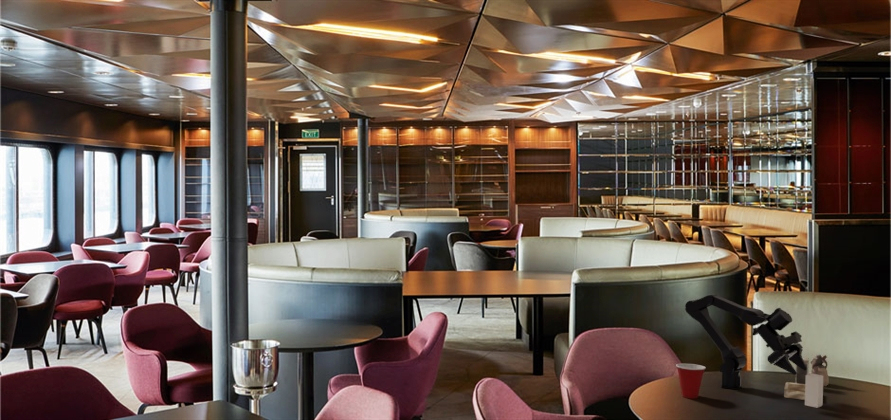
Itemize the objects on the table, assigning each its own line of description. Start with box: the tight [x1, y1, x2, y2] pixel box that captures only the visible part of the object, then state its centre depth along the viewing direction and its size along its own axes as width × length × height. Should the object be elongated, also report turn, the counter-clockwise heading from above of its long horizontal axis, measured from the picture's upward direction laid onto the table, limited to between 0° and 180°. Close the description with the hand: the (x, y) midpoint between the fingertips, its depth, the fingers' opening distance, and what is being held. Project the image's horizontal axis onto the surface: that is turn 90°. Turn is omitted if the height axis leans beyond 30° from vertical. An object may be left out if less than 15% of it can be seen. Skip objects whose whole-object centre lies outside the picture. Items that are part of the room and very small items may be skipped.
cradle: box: [783, 357, 810, 401], centre depth 296 cm, size 10×22×11 cm, turn 153°
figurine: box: [810, 353, 830, 387], centre depth 308 cm, size 7×7×12 cm
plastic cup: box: [675, 363, 706, 399], centre depth 289 cm, size 11×11×12 cm
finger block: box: [804, 372, 824, 409], centre depth 279 cm, size 4×5×11 cm
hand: (801, 372), depth 282 cm, fingers open, 9 cm apart
